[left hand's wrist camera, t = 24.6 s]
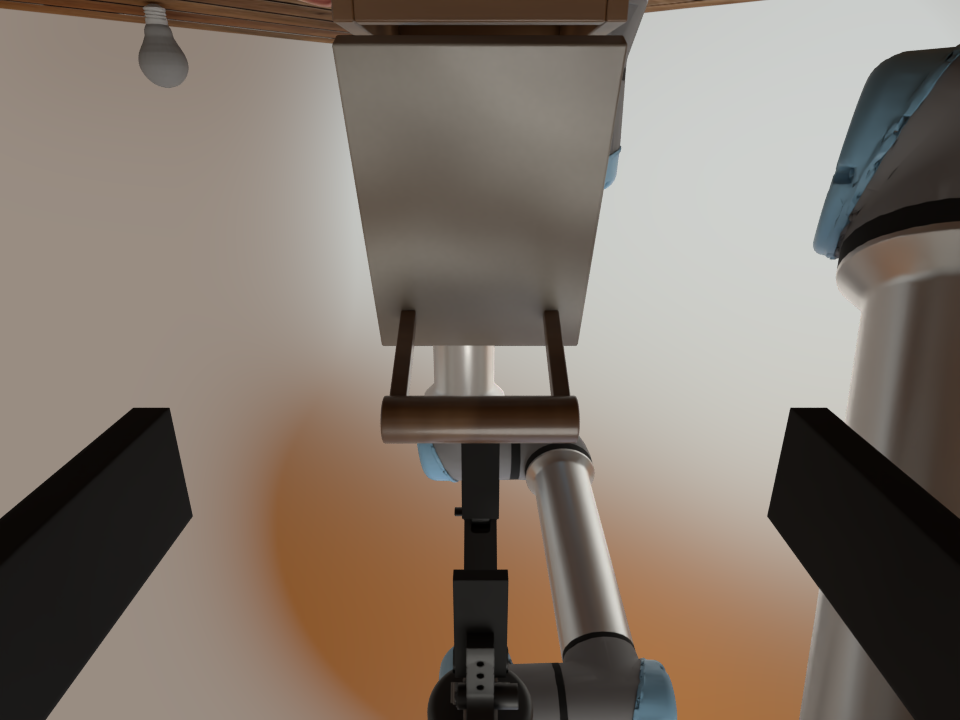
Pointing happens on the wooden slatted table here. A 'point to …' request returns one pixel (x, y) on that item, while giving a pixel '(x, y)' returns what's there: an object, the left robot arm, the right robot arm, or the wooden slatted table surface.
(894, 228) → the left robot arm
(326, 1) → the anatomical model
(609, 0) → the chest
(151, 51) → the light bulb
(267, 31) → the wooden slatted table surface
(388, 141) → the lid
